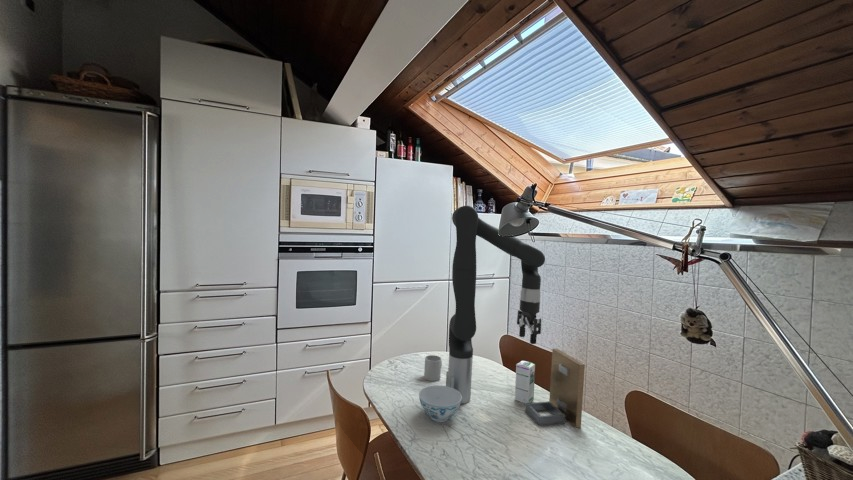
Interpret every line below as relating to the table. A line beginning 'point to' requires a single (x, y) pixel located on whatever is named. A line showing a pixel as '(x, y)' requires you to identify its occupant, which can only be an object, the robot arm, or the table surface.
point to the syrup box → (524, 382)
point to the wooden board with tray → (562, 393)
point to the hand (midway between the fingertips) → (527, 340)
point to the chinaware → (440, 402)
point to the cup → (432, 368)
